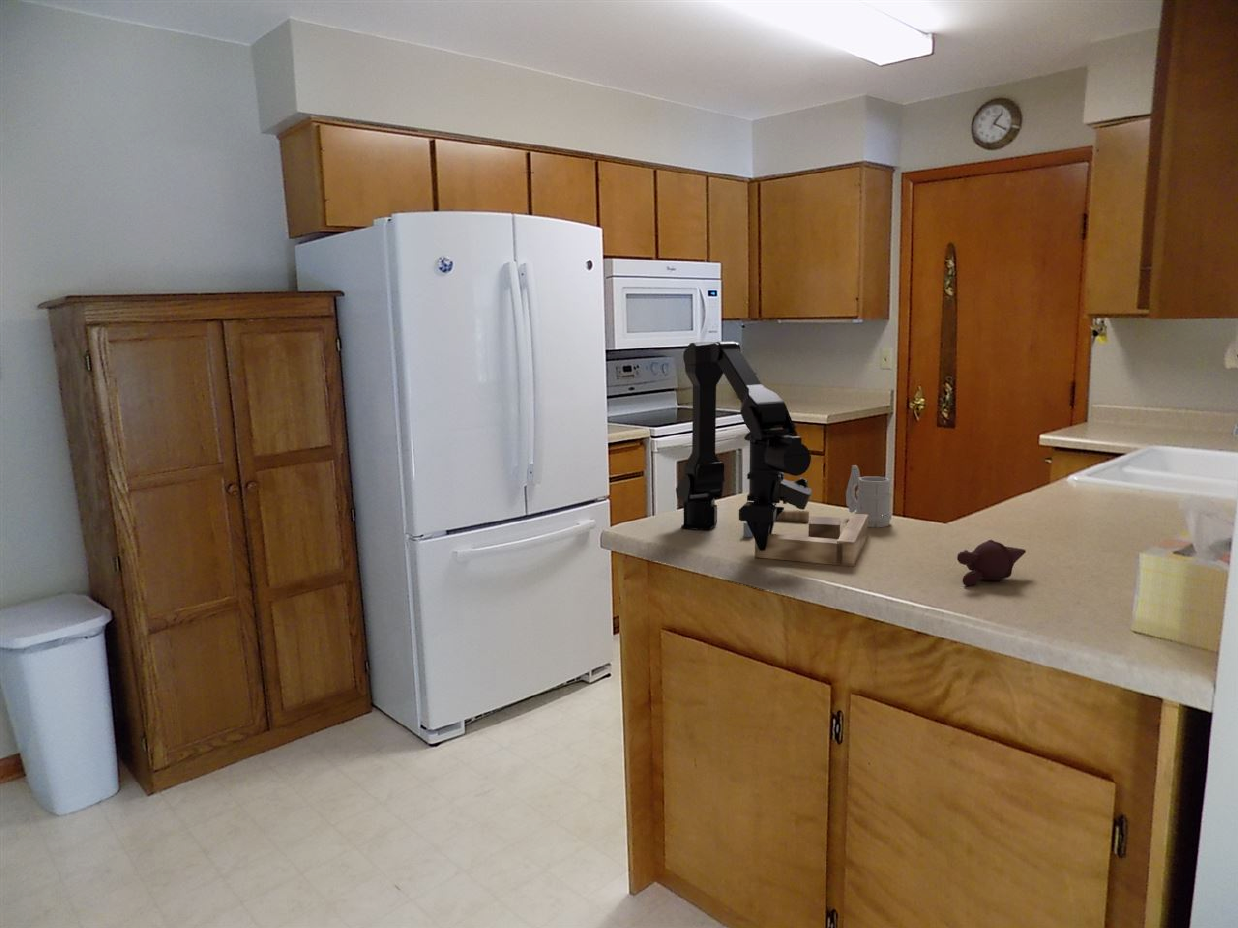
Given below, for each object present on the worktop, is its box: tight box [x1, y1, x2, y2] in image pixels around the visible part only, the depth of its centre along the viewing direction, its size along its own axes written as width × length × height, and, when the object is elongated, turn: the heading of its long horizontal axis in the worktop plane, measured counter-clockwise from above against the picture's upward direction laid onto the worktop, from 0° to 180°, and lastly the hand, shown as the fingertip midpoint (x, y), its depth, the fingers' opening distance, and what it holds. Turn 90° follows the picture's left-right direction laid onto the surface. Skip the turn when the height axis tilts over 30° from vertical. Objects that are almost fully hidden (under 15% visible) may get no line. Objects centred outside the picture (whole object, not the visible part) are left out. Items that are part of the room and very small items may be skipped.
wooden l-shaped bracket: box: [754, 513, 869, 568], centre depth 159 cm, size 18×22×4 cm
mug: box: [845, 464, 892, 528], centre depth 177 cm, size 8×12×12 cm, turn 27°
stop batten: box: [742, 521, 754, 538], centre depth 171 cm, size 2×8×3 cm, turn 160°
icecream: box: [956, 539, 1027, 587], centre depth 137 cm, size 7×7×15 cm
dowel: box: [776, 509, 810, 523], centre depth 181 cm, size 10×2×2 cm
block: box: [807, 515, 841, 539], centre depth 164 cm, size 6×6×4 cm
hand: (764, 548), depth 153 cm, fingers closed on wooden l-shaped bracket, 3 cm apart
